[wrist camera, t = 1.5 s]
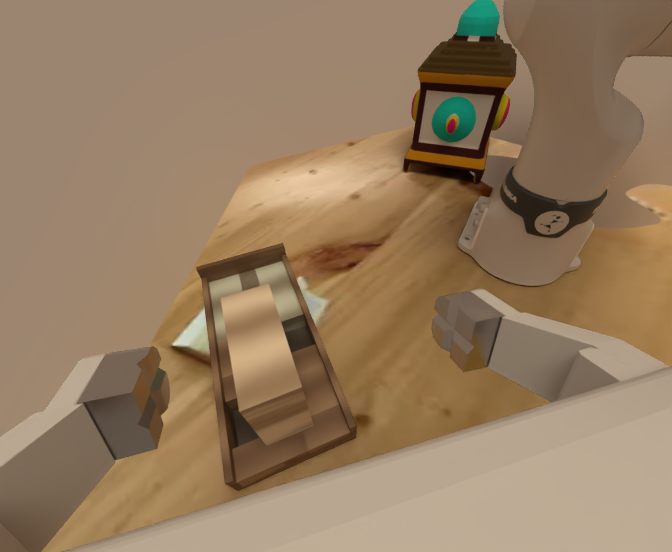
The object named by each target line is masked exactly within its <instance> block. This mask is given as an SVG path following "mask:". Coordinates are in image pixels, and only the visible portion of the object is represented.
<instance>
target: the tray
mask: <svg viewBox="0 0 672 552" xmlns="http://www.w3.org/2000/svg"><path fill="white" fill-rule="evenodd" d="M197 272H198V273H199V275H200V277H201V279H202V288H203V297H204V305H205V314H206V323H207V331H208V340H209V349H210V357H211V366H212V375H213V383H214V392H215V400H216V409H217V418H218V426H219V435H220V444H221V452H222V461H223V470H224V478H225V484H226V485H228V486H230V487H232V488H234V489H236V490H238V491H239V490H241V489H243V488H245V487H248V486H250V485H252V484H254V483H257V482H259V481H261V480H263V479H265V478H268V477H270V476H272V475H274V474H276V473H279V472H281V471H283V470H285V469H287V468H290V467H292V466H294V465H296V464H298V463H301V462H303V461H305V460H307V459H310V458H312V457H314V456H316V455H318V454H321V453H323V452H325V451H327V450H329V449H332V448H334V447H336V446H338V445H340V444H343V443H345V442H347V441H349V440H351V439H354V438H356V423H355V421H354V418H353V416H352V413H351V411H350V409H349V406H348V404H347V401H346V399H345V396H344V394H343V392H342V389H341V387H340V384H339V382H338V380H337V377H336V375H335V372H334V370H333V367H332V365H331V363H330V360H329V358H328V355H327V353H326V350H325V348H324V346H323V343H322V341H321V338H320V336H319V334H318V331H317V329H316V326H315V324H314V321H313V319H312V317H311V314H310V312H309V309H308V307H307V304H306V302H305V300H304V297H303V295H302V292H301V290H300V287H299V285H298V283H297V280H296V278H295V275H294V273H293V271H292V268H291V266H290V263H289V261H288V258H287V256H286V253H285V248H284V245H283V243H281V244H278V245H274V246H270V247H267V248H263V249H260V250H256V251H252V252H249V253H245V254H242V255H238V256H235V257H231V258H227V259H224V260H220V261H217V262H213V263H210V264H206V265H202V266H199V267H197ZM268 283H269V286H270V289H271V292H272V295H273V299H274V302H275V305H276V308H277V311H278V314H279V317H280V320H281V323H282V326H283V330H284V333H285V336H286V339H287V342H288V345H289V348H290V351H291V354H292V358H293V361H294V364H295V367H296V370H297V373H298V376H299V379H300V382H301V385H302V389H303V392H304V395H305V398H306V402H307V405H308V408H309V412H310V415H311V418H312V421H313V425H314V426H312V427H310V428H308V429H305V430H303V431H301V432H298V433H296V434H294V435H291V436H289V437H287V438H284V439H282V440H280V441H277V442H275V443H273V444H270V445H268V446H266V444H265V443H264V442H263V441H262V439H261V438H260V437H259V436H258V434H257V433H256V432H255V431H254V429H253V428H252V427H251V426H250V424H249V423H248V422H247V421H246V420H245V418H244V417H243V416H242V415H241V413H240V412H239V407H238V401H237V395H236V389H235V383H234V377H233V371H232V365H231V359H230V353H229V347H228V341H227V335H226V329H225V322H224V316H223V310H222V304H221V298H222V297H225V296H229V295H232V294H235V293H238V292H242V291H245V290H248V289H252V288H255V287H258V286H261V285H265V284H268Z"/></svg>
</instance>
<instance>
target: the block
mask: <svg viewBox="0 0 672 552" xmlns="http://www.w3.org/2000/svg"><path fill="white" fill-rule="evenodd" d="M221 304H222V310H223V316H224V322H225V329H226V335H227V341H228V347H229V353H230V359H231V365H232V371H233V377H234V383H235V389H236V395H237V401H238V407H239V412H240V413H241V415H242V416H243V417H244V418H245V420H246V421H247V422H248V423H249V424H250V426H251V427H252V428H253V429H254V431H255V432H256V433H257V434H258V436H259V437H260V438H261V439H262V441H263V442H264V443H265V444H266V446H268V445H270V444H273V443H275V442H277V441H280V440H282V439H284V438H287V437H289V436H291V435H294V434H296V433H298V432H301V431H303V430H305V429H308V428H310V427H312V426H314V425H313V421H312V418H311V415H310V412H309V408H308V405H307V402H306V398H305V395H304V392H303V389H302V385H301V382H300V379H299V376H298V373H297V370H296V367H295V364H294V361H293V358H292V354H291V351H290V348H289V345H288V342H287V339H286V336H285V333H284V330H283V326H282V323H281V320H280V317H279V314H278V311H277V308H276V305H275V302H274V299H273V295H272V292H271V289H270V286H269V283H268V284H265V285H261V286H258V287H255V288H252V289H248V290H245V291H242V292H238V293H235V294H232V295H229V296H225V297H222V298H221Z"/></svg>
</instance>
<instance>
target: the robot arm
mask: <svg viewBox="0 0 672 552" xmlns="http://www.w3.org/2000/svg"><path fill="white" fill-rule="evenodd" d="M503 7H504V8H503V15H504V23H505V28H506V31H507V34H508V36H509V38H510V40H511V42H512V43H513V45H514V46H515V47H516V48H517V49H518V50H519V52H520V53H521V55H522V56H523V58H524V59H525V61H526V63H527V65H528V67H529V70H530V73H531V76H532V80H533V85H534V109H533V115H532V119H531V122H530V126H529V129H528V132H527V135H526V138H525V141H524V144H523V146H522V149H521V151H520V154H519V157H518V159H517V162H516V164H515V165H514V166H513V167H512V168H511V169H510V171H509V172H508V174H507V175H506V177H505V179H504V181H503V183H502V184H499V185H497V186H495V187H494V188H493V190H492V193H491V195H490V198H487V197H484V196H480V197H479V200H478V201H477V202H476V203H475V205H474V207H473V209H472V211H471V214H470V216H469V218H468V220H467V223H466V225H465V227H464V230H463V232H462V234H461V236H460V239H459V241H458V243H457V246H458V247H459V248H460V249H461V250H463V251H464V252H466V253H467V254H469V255H471V256H472V257H473V258H474V259H475V260H476V262H477V263H478V264H479V265H480V266H481V267H482V268H484V269H485V270H486V271H487V272H489V273H491V274H492V275H494V276H496V277H498V278H500V279H503V280H505V281H508V282H511V283H515V284H520V285H528V286H538V285H545V284H549V283H551V282H554V281H555V280H557V279H558V278H559V277H560V276H561V275H562V274H564V273H565V272H569V271H573V270H576V269H578V268H579V266H580V264H581V260H580V258H579V257H578V254H579V252H580V250H581V249H582V247H583V246H584V244H585V242H586V241H587V239H588V237H589V236H590V234H591V232H592V231H593V229H594V224H593V221H592V219H591V217H592V216H593V215H594V213H595V212H596V211H597V210H598V209H599V207H600V206H601V204H602V203H603V200H604V198H605V197H606V195H607V187H608V186H609V184H610V183H611V182H612V180H613V179H614V177H615V176H616V175H617V173H618V171H619V170H620V169H621V167H622V166H623V165H624V163H625V162H626V160H627V159H628V157H629V156H630V155H631V153H632V152H633V150H634V149H635V147H636V146H637V145H638V143H639V141H640V140H641V137H642V134H643V128H644V120H643V116H642V114H641V112H640V110H639V109H638V108H637V107H636V105H635V104H633V103H632V102H631V101H630V100H629V99H628V98H627V97H625V96H624V95H622V94H621V93H620V92H618V91H617V90H615V89H613V85H614V80H615V77H616V74H617V72H618V70H619V68H620V66H621V64H622V63H623V61H624V59H625V58H626V57H631V56H667V57H668V56H669V57H670V56H671V57H672V0H504V6H503ZM435 310H436V311H437V313H438V314H437V315H436V316H435V318H434V319H433V321H432V332H433V337H434V339H435V341H436V342H437V344H438V345H439V346H440V347H441V348H443V349H445V350H447V351H450V358H451V359H452V360H453V361H454V362H455V363H456V364H457V366H458V367H459V368H460V369H461V370H462V371H463V372H466V371H471V370H475V369H480V368H484V367H488V368H489V369H491V370H492V371H494V372H496V373H498V374H500V375H502V376H504V377H506V378H507V379H509V380H511V381H513V382H515V383H517V384H519V385H520V386H522V387H524V388H526V389H528V390H530V391H532V392H534V393H535V394H537V395H539V396H541V397H543V398H545V399H547V400H548V401H550V402H551V403H548V404H545V405H541V406H538V407H535V408H532V409H528V410H525V411H522V412H518V413H515V414H512V415H509V416H505V417H502V418H499V419H496V420H492V421H489V422H486V423H483V424H479V425H476V426H473V427H469V428H466V429H463V430H460V431H456V432H453V433H450V434H447V435H443V436H440V437H437V438H433V439H430V440H427V441H424V442H420V443H417V444H414V445H410V446H407V447H404V448H401V449H397V450H394V451H391V452H387V453H384V454H381V455H378V456H374V457H371V458H368V459H364V460H361V461H358V462H355V463H351V464H348V465H345V466H341V467H338V468H335V469H332V470H328V471H325V472H322V473H318V474H315V475H312V476H309V477H305V478H302V479H299V480H295V481H292V482H289V483H286V484H282V485H279V486H276V487H272V488H269V489H266V490H263V491H259V492H256V493H253V494H249V495H246V496H243V497H240V498H236V499H233V500H230V501H226V502H223V503H220V504H217V505H213V506H210V507H207V508H203V509H200V510H197V511H194V512H190V513H187V514H184V515H181V516H177V517H174V518H171V519H167V520H164V521H161V522H158V523H154V524H151V525H148V526H144V527H141V528H138V529H135V530H131V531H128V532H125V533H121V534H118V535H115V536H112V537H108V538H105V539H102V540H98V541H95V542H92V543H89V544H85V545H82V546H79V547H75V548H72V549H69V550H66V551H62V552H672V366H670V367H669V366H668V365H666V364H664V363H662V362H660V361H659V360H657V359H655V358H653V357H652V356H650V355H648V354H646V353H644V352H643V351H641V350H639V349H637V348H635V347H634V346H632V345H630V344H628V343H626V342H625V341H623V340H621V339H619V338H615V337H611V336H608V335H604V334H601V333H597V332H593V331H590V330H586V329H583V328H579V327H576V326H572V325H568V324H565V323H561V322H558V321H554V320H550V319H547V318H543V317H540V316H536V315H532V314H529V313H525V312H524V313H520V312H518V311H517V310H515V309H514V308H512V307H511V306H509V305H508V304H506V303H504V302H503V301H501V300H500V299H498V298H497V297H495V296H494V295H492V294H491V293H489V292H488V291H486V290H484V289H474V290H470V291H466V292H462V293H456V294H451V295H446V296H440V297H438V298H437V300H436V303H435ZM160 361H161V357H160V355H159V352H158V350H157V348H155V347H154V346H151V347H145V348H139V349H132V350H125V351H119V352H113V353H109V354H100V355H95V356H89V357H85V358H83V359H81V360H79V362H78V363H77V365H76V366H75V367H74V369H73V370H72V372H71V373H70V375H69V376H68V378H67V379H66V381H65V382H64V383H63V385H62V386H61V388H60V389H59V391H58V392H57V394H56V395H55V396H54V398H53V399H52V401H51V402H50V404H49V405H48V406H47V408H46V409H45V411H43V412H38V413H35V414H33V415H32V416H30V417H29V418H28V419H26V420H25V421H23V422H22V423H20V424H19V425H17V426H16V427H14V428H13V429H11V430H10V431H8V432H7V433H6V434H4V435H3V436H1V437H0V552H41V551H42V550H43V549H44V547H45V546H46V545H47V544H48V543H49V541H50V540H51V539H52V538H53V537H54V535H55V534H56V533H57V532H58V531H59V529H60V528H61V527H62V526H63V525H64V523H65V522H66V521H67V520H68V519H69V518H70V516H71V515H72V514H73V513H74V512H75V510H76V509H77V508H78V507H79V506H80V504H81V503H82V502H83V501H84V500H85V498H86V497H87V496H88V495H89V494H90V492H91V491H92V490H93V489H94V488H95V486H96V485H97V484H98V483H99V482H100V480H101V479H102V478H103V477H104V476H105V474H106V473H107V472H108V471H109V470H110V468H111V467H112V466H113V465H114V464H115V460H118V459H122V458H125V457H129V456H133V455H136V454H140V453H143V452H147V451H151V450H154V449H157V447H158V443H159V439H160V436H161V432H162V428H163V422H162V419H161V415H162V414H163V413H164V412H165V411H166V410H167V408H168V404H169V399H170V386H169V380H168V377H167V374H166V372H165V371H163V370H162V369H160V368H158V367H159V364H160Z"/></svg>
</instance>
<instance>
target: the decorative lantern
mask: <svg viewBox="0 0 672 552" xmlns="http://www.w3.org/2000/svg"><path fill="white" fill-rule="evenodd" d="M499 17H500V16H499V12H498V10H497V8H496V6H495V4H494V2H493V1H492V0H476V1H474V2H473V3H472V4H471V5H470V6H469V7H468V8H467V9H466V10H465V12H464V13H463V14H462V16H461V18H460V21H459V24H458V29H457V32H456V34H454V35H453V37H452V38H451V39H449V40H448V41H447V42H441V43H440V44H439V46H437V47H436V48H435V49H434V50H433V52H432V53H431V54H430V55H429V57H428V58H427V59H426V60H425V61H424V63H423V64H422V65H421V66H420V68H419V69H418V77H419V80H420V85H421V87H420V89H419V90H418V91H417V93H416V94H415V96H414V99H413V102H412V118H413V120H414V121H415V129H414V136H413V143H412V145H411V147H410V149H409V151H408V153H407V154H406V156H405V159H404V171H405V172H408V171H409V170H410V166H411V164H412V163H418V164H425V165H432V166H439V167H445V168H452V169H459V170H465V171H472V172H474V173H475V176H474V183H479V182H480V180H481V178H482V175H483V173H484V170H485V164H486V158H487V152H488V146H489V140H490V139H489V136H490V132H491V130H497V129H498V128H500V127H501V125H502V124H503V123H504V121H505V119H506V117H507V114H508V111H509V106H510V99H509V97H508V96H507V95H505V94H504V91H505V90H506V88H507V87H508V86H509V85H510V84H511V82H512V81H513V79H514V78H515V74H516V57H517V55H516V53H515V50H514V49H513V48H512V45H511V44H504V43H503V40H501V39H500V36H499V35H497V28H498V24H499Z"/></svg>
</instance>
